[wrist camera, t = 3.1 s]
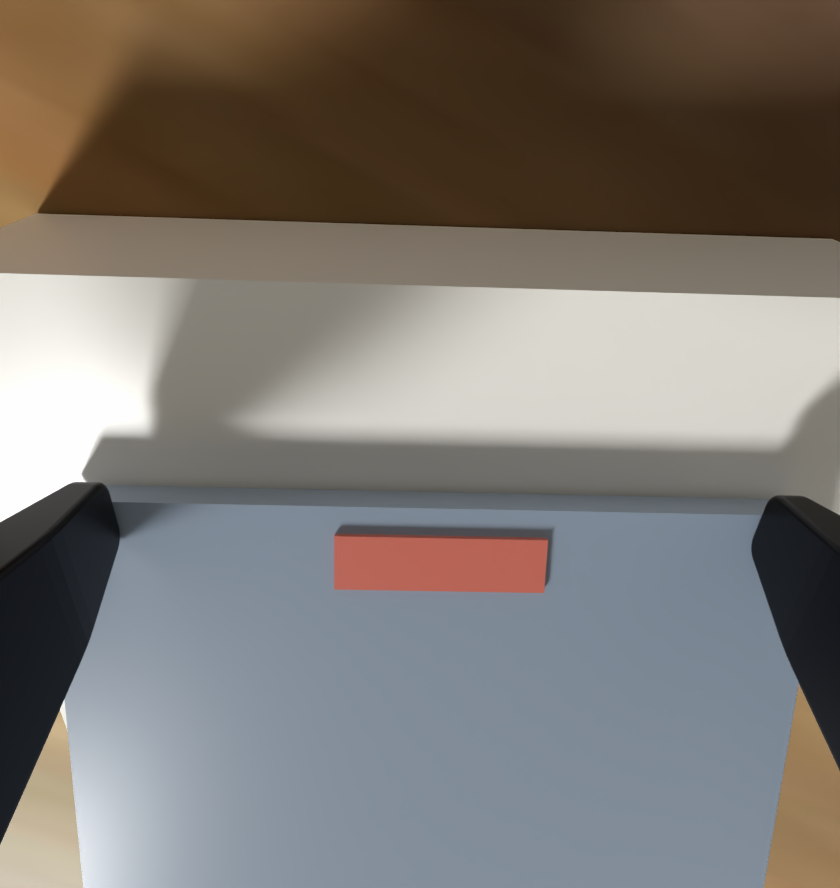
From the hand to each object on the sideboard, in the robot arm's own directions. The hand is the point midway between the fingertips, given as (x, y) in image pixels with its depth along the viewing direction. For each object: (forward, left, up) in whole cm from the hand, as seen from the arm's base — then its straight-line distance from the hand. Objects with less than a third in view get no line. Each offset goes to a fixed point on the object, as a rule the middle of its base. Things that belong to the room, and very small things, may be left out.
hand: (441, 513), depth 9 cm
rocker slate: (0, +4, 0) cm, 4 cm away
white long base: (0, +10, -5) cm, 11 cm away
